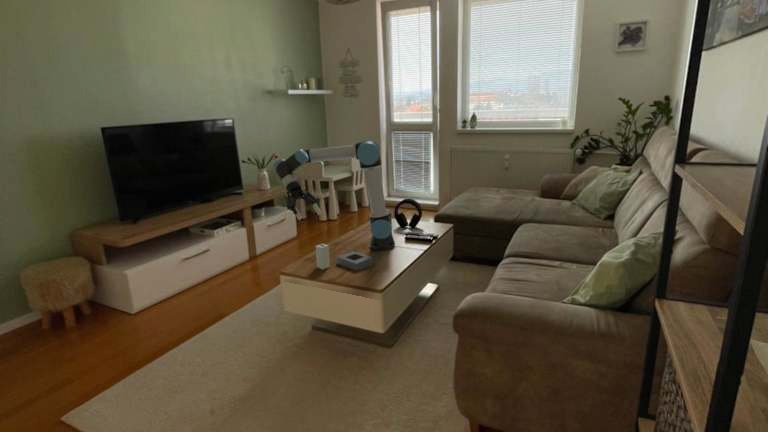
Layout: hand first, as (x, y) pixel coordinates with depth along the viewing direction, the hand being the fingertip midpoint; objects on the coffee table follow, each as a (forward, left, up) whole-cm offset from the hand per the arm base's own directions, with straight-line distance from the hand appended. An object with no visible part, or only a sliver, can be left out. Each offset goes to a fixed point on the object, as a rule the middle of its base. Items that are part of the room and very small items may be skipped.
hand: (310, 216), depth 226 cm
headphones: (-54, +67, -27) cm, 90 cm away
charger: (+6, +5, -27) cm, 28 cm away
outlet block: (+6, +22, -27) cm, 35 cm away
